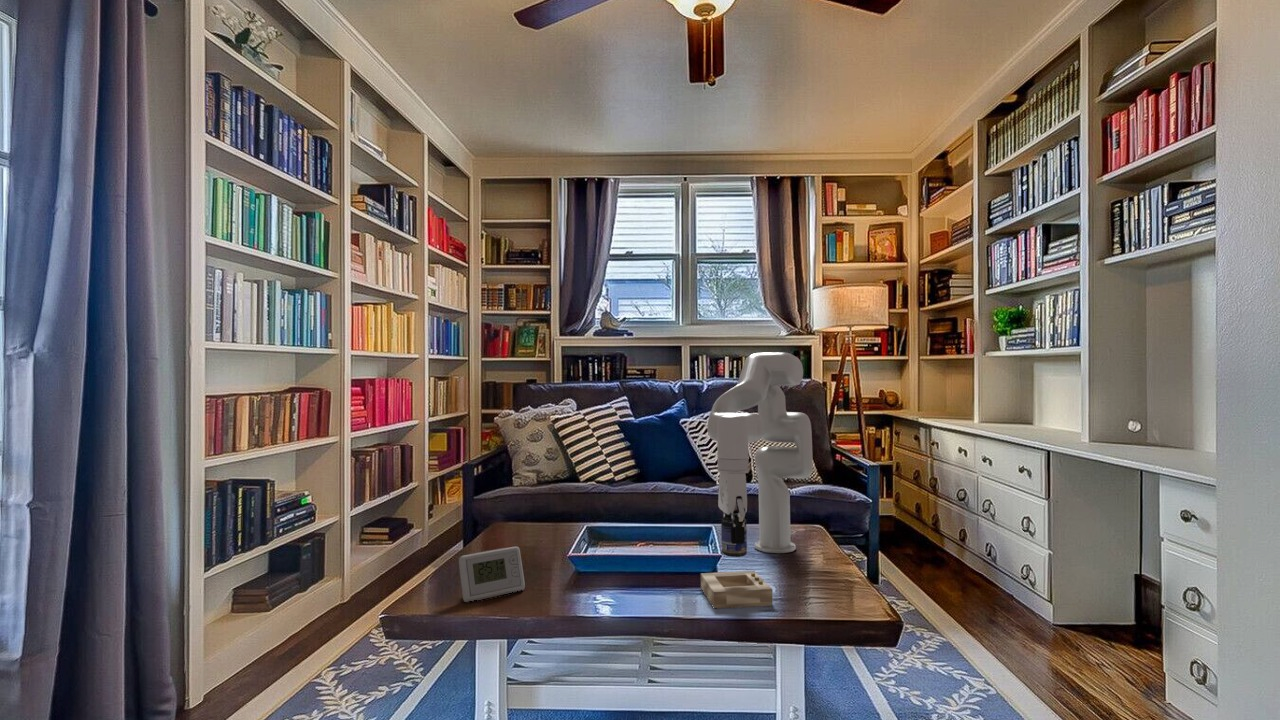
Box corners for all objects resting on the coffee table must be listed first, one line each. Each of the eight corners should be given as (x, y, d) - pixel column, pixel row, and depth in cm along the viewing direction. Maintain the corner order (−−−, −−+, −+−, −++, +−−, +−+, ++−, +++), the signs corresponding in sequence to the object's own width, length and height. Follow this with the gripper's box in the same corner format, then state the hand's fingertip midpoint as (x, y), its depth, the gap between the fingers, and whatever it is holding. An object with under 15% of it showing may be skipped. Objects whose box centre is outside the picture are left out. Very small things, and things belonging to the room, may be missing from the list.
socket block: (700, 588, 157) (700, 571, 158) (754, 585, 159) (754, 568, 159) (714, 608, 143) (713, 589, 144) (772, 605, 145) (772, 586, 145)
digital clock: (461, 605, 148) (461, 560, 148) (456, 593, 156) (456, 551, 156) (528, 595, 154) (528, 552, 154) (520, 584, 162) (520, 543, 163)
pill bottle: (746, 558, 148) (745, 511, 148) (720, 556, 149) (720, 510, 149) (747, 551, 154) (746, 506, 154) (722, 550, 155) (721, 505, 155)
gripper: (709, 461, 160) (710, 532, 160) (727, 470, 143) (728, 549, 142) (738, 461, 161) (739, 531, 160) (758, 469, 144) (759, 548, 143)
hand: (733, 539), depth 151 cm, fingers closed on pill bottle, 6 cm apart
